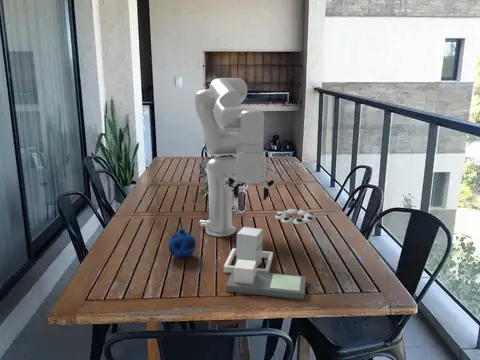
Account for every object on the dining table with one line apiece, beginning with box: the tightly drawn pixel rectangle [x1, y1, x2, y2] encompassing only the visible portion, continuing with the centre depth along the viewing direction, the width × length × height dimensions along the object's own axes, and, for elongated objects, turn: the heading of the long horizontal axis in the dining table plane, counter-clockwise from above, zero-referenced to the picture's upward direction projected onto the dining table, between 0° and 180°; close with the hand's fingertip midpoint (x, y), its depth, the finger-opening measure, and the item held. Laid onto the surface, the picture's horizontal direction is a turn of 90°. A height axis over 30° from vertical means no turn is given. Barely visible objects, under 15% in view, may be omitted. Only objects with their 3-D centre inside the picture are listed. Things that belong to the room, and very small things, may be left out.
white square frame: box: [223, 247, 274, 274], centre depth 149 cm, size 15×15×2 cm
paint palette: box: [274, 208, 317, 225], centre depth 197 cm, size 20×20×2 cm
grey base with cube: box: [225, 259, 307, 300], centre depth 134 cm, size 24×11×7 cm, turn 79°
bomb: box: [167, 216, 197, 260], centre depth 153 cm, size 10×11×15 cm
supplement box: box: [235, 226, 264, 268], centre depth 148 cm, size 7×7×13 cm
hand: (250, 198), depth 143 cm, fingers open, 9 cm apart
